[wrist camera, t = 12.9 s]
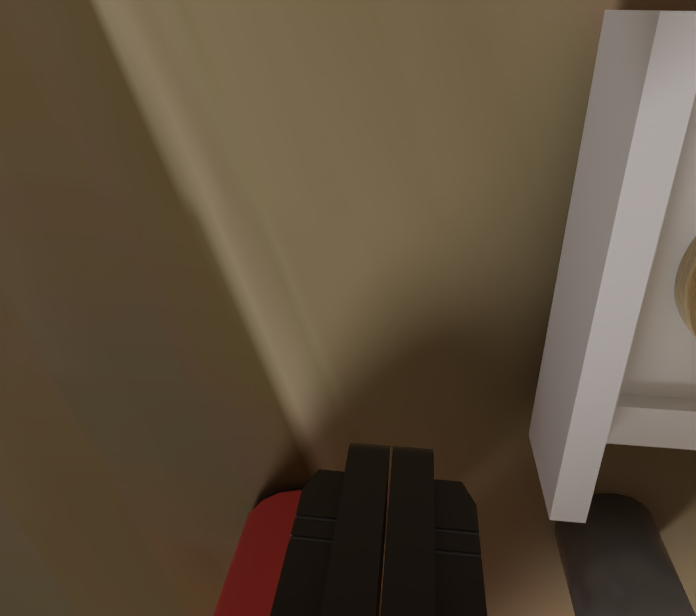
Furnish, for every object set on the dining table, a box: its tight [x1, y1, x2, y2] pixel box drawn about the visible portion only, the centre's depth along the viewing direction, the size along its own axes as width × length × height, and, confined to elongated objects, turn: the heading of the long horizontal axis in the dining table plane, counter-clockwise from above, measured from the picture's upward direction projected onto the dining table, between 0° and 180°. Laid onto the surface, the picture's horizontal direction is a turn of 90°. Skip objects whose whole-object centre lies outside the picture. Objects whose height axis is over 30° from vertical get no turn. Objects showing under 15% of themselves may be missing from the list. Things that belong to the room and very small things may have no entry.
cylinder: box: [555, 494, 696, 616], centre depth 26 cm, size 4×4×5 cm
